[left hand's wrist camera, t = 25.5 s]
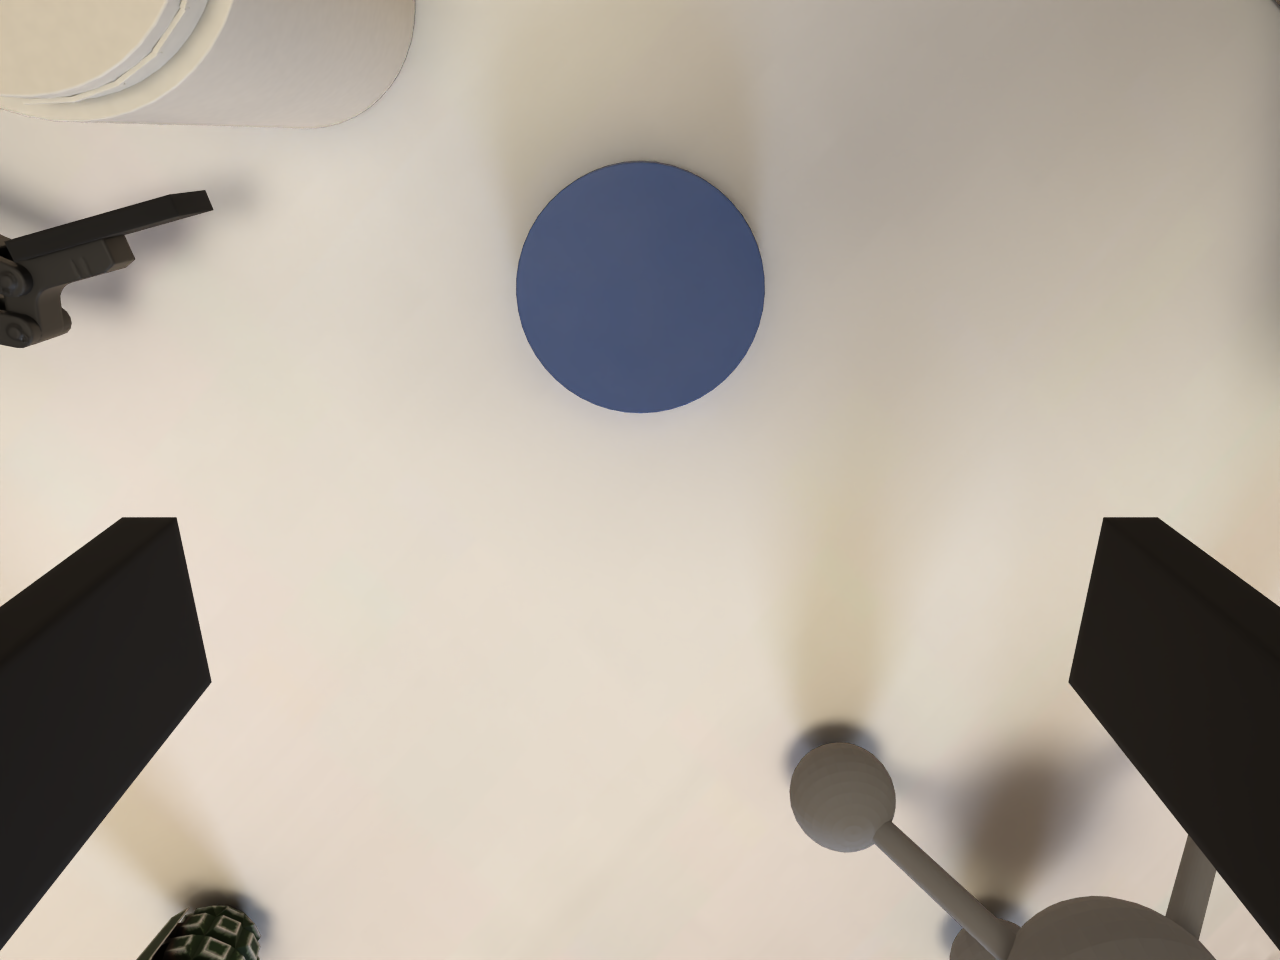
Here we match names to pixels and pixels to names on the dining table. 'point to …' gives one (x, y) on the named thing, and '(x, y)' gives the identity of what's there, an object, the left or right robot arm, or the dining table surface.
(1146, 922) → the molecular model
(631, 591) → the dining table surface
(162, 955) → the grenade
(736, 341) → the lid
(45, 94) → the jar
